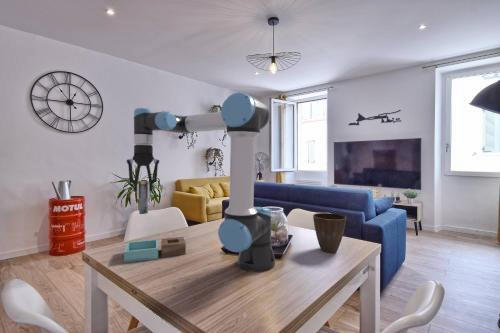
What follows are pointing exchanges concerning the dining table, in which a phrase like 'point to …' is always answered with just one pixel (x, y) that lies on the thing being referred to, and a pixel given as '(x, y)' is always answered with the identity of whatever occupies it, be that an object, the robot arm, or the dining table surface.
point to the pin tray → (141, 251)
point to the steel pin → (143, 197)
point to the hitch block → (173, 246)
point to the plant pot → (329, 230)
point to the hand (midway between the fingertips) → (143, 198)
